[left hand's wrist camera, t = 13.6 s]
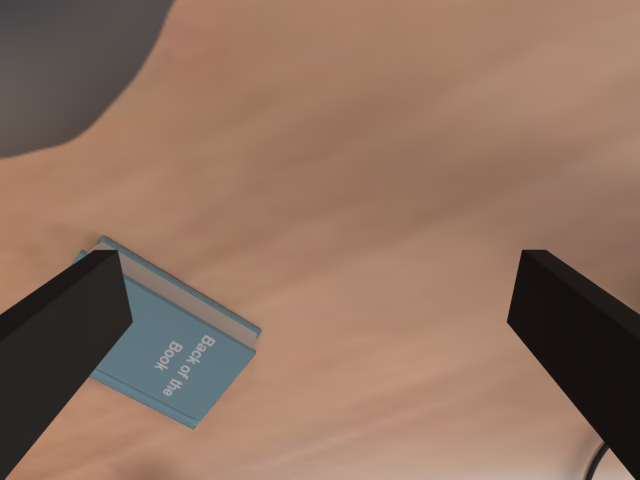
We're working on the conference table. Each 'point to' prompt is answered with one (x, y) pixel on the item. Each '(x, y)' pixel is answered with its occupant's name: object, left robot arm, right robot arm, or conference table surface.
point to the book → (173, 343)
